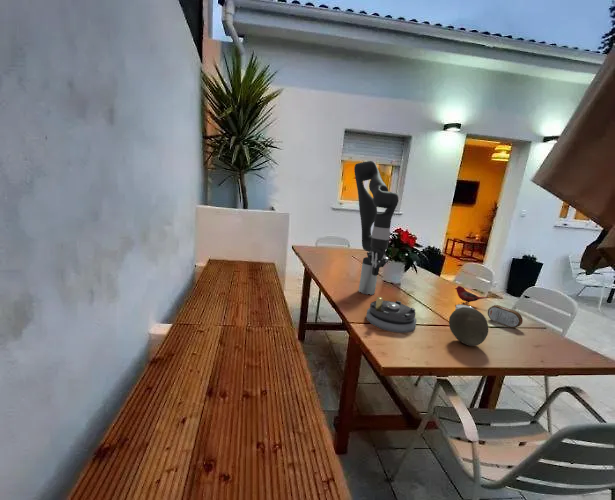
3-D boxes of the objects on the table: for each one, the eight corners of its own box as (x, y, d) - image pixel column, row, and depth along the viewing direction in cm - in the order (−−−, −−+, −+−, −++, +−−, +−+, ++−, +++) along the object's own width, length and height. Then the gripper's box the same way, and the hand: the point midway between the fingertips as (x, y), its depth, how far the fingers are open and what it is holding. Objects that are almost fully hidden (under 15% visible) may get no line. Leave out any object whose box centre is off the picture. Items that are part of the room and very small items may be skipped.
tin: (520, 329, 148) (524, 313, 146) (518, 331, 146) (522, 314, 144) (487, 317, 159) (491, 302, 158) (485, 318, 158) (488, 303, 156)
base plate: (381, 308, 156) (382, 303, 156) (423, 324, 142) (424, 318, 141) (357, 318, 140) (357, 312, 140) (401, 337, 126) (402, 330, 125)
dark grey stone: (477, 339, 132) (484, 306, 129) (488, 355, 118) (497, 319, 116) (442, 332, 135) (449, 300, 132) (449, 347, 121) (457, 312, 118)
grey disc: (392, 304, 154) (395, 288, 152) (424, 321, 137) (427, 303, 135) (360, 308, 144) (363, 290, 143) (390, 326, 127) (393, 306, 126)
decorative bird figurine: (451, 300, 182) (455, 284, 180) (485, 307, 176) (489, 290, 174) (452, 302, 179) (455, 285, 177) (486, 308, 173) (490, 291, 172)
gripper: (364, 234, 139) (359, 271, 142) (383, 240, 128) (378, 280, 131) (377, 234, 143) (372, 270, 146) (397, 240, 131) (391, 279, 135)
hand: (374, 275), depth 138 cm, fingers closed
